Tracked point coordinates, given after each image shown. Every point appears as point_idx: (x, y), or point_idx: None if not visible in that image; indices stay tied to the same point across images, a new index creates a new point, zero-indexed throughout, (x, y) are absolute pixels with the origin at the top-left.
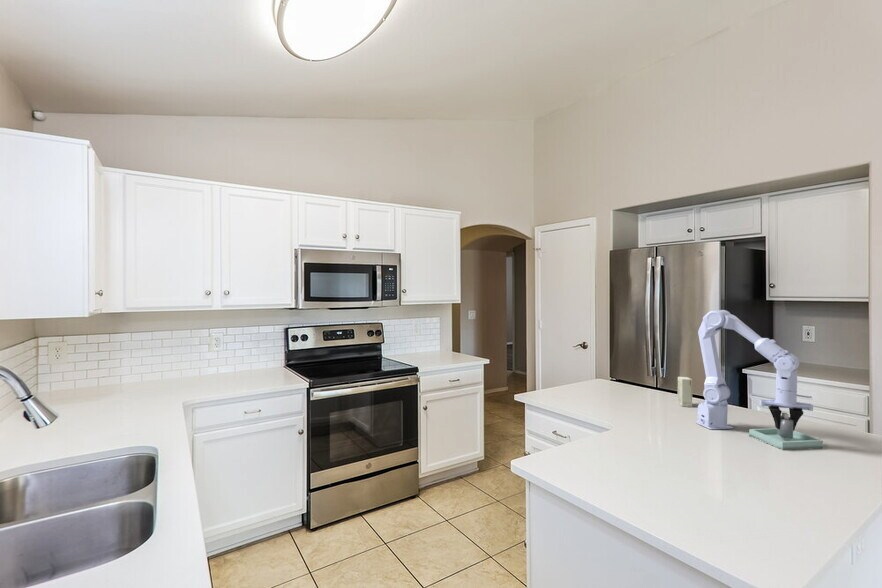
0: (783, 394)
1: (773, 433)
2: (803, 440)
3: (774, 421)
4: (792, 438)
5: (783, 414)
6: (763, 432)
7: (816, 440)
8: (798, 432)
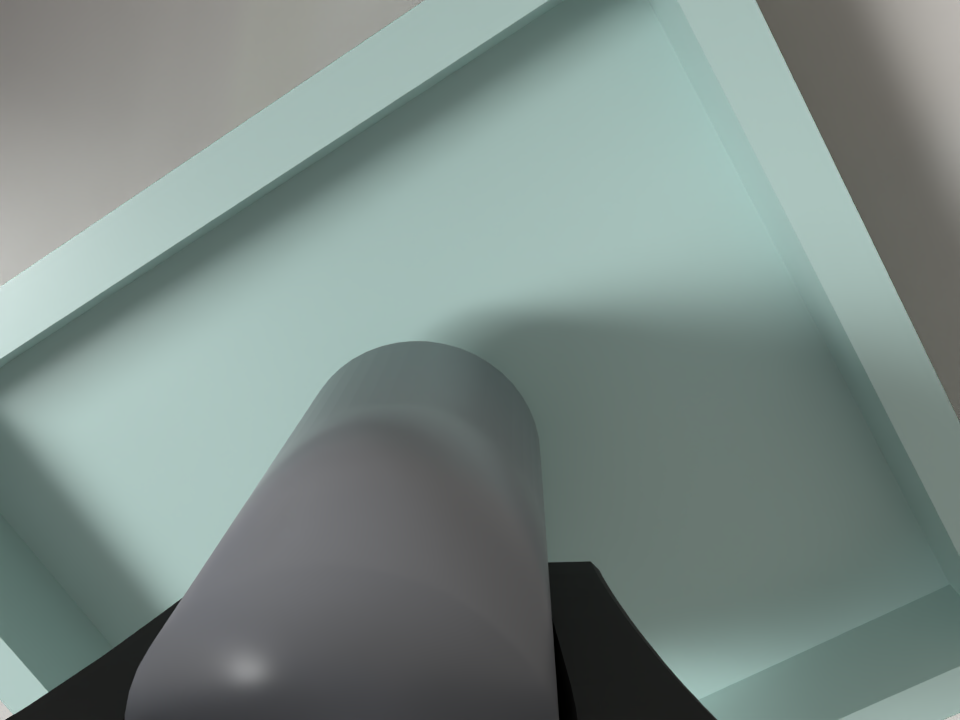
0: None
1: (312, 164)
2: (793, 401)
3: (129, 641)
4: (616, 356)
5: None
6: (90, 303)
7: (941, 699)
8: (817, 223)
